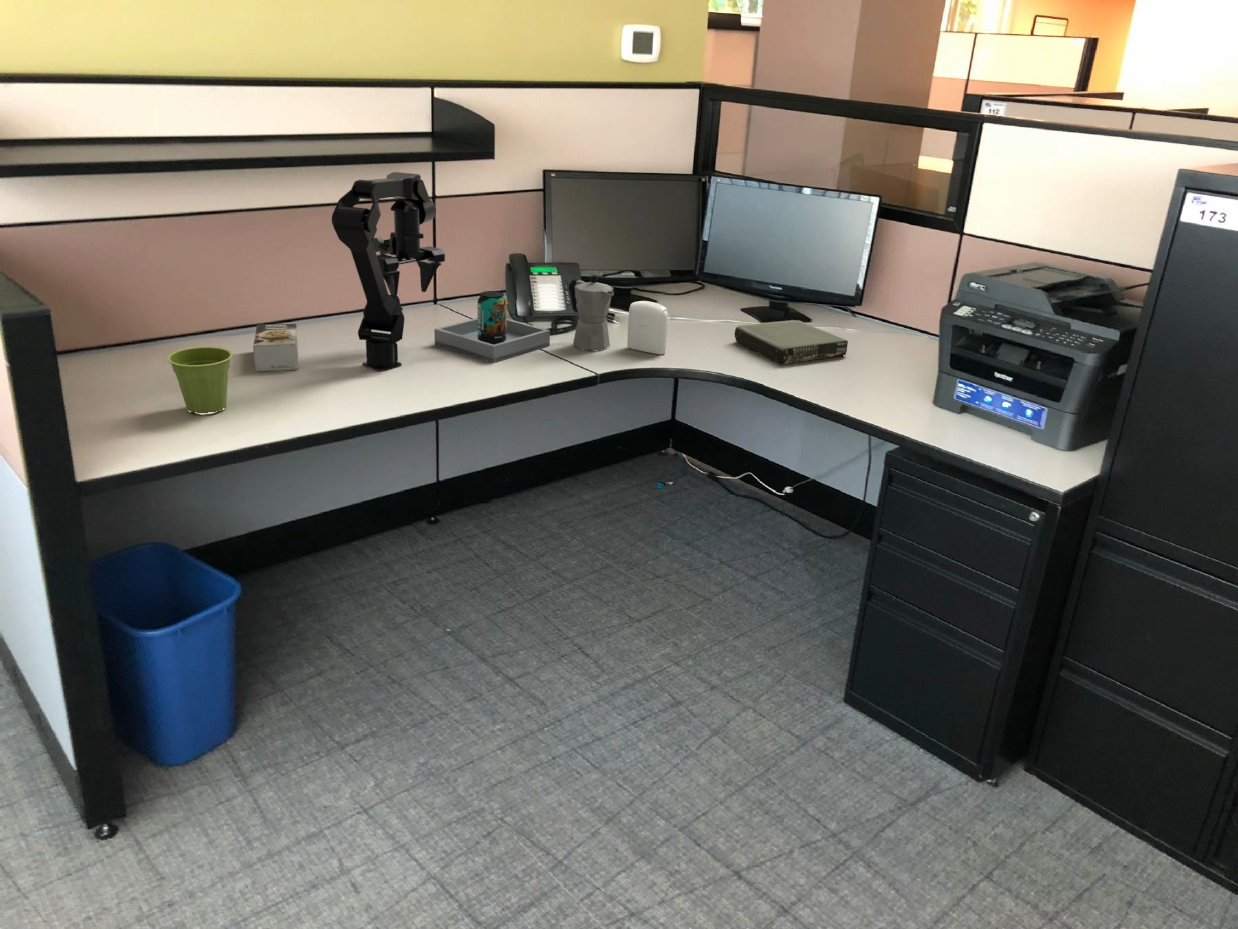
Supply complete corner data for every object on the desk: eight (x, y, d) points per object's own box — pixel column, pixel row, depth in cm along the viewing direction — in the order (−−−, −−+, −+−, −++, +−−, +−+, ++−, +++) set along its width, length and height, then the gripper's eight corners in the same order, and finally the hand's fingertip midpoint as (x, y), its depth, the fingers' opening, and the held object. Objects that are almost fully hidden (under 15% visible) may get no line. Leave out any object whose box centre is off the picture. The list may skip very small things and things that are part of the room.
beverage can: (505, 345, 247) (506, 297, 243) (476, 345, 247) (476, 296, 242) (506, 337, 254) (507, 290, 249) (478, 336, 253) (478, 289, 249)
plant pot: (164, 407, 201) (156, 353, 196) (222, 395, 209) (216, 343, 204) (189, 425, 193) (182, 368, 189) (248, 412, 201) (243, 357, 197)
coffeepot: (623, 348, 254) (627, 277, 247) (596, 355, 248) (599, 282, 240) (581, 334, 264) (583, 265, 256) (554, 340, 257) (556, 270, 250)
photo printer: (624, 348, 254) (626, 300, 249) (632, 344, 258) (635, 296, 253) (660, 356, 250) (663, 307, 245) (668, 352, 253) (672, 303, 248)
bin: (493, 362, 238) (493, 346, 236) (434, 344, 249) (434, 328, 247) (549, 345, 253) (550, 330, 251) (491, 329, 264) (491, 314, 262)
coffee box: (252, 344, 221) (255, 323, 235) (255, 372, 223) (258, 350, 237) (296, 342, 223) (296, 322, 237) (298, 370, 226) (298, 348, 240)
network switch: (788, 370, 246) (790, 350, 244) (724, 345, 263) (725, 326, 261) (853, 357, 259) (855, 338, 257) (787, 333, 276) (790, 316, 274)
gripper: (413, 219, 245) (415, 282, 252) (352, 227, 232) (355, 294, 238) (446, 226, 239) (447, 291, 246) (384, 235, 226) (387, 304, 232)
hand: (409, 294), depth 240 cm, fingers open, 9 cm apart
